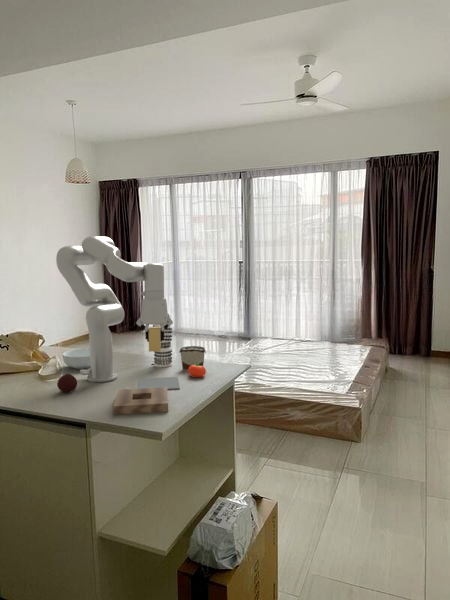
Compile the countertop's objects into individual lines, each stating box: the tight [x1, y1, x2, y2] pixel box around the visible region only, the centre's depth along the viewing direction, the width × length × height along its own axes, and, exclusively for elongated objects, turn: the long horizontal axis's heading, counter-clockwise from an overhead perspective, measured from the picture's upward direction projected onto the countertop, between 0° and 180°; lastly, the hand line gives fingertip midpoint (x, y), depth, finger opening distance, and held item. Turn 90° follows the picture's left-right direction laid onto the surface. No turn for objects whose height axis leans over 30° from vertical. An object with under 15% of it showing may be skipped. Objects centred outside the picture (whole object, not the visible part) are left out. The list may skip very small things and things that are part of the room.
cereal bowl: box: [62, 348, 90, 370], centre depth 208 cm, size 17×17×7 cm
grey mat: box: [137, 376, 180, 391], centre depth 179 cm, size 16×16×1 cm
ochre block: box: [148, 326, 161, 353], centre depth 173 cm, size 4×4×9 cm
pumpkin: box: [187, 363, 207, 378], centre depth 190 cm, size 7×8×6 cm
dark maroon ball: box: [56, 373, 78, 394], centre depth 169 cm, size 7×8×7 cm
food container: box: [178, 345, 207, 371], centre depth 203 cm, size 12×6×10 cm, turn 84°
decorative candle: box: [152, 313, 173, 368], centre depth 209 cm, size 9×9×25 cm
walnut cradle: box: [112, 387, 169, 416], centre depth 155 cm, size 18×18×3 cm
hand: (154, 340), depth 173 cm, fingers closed on ochre block, 4 cm apart
